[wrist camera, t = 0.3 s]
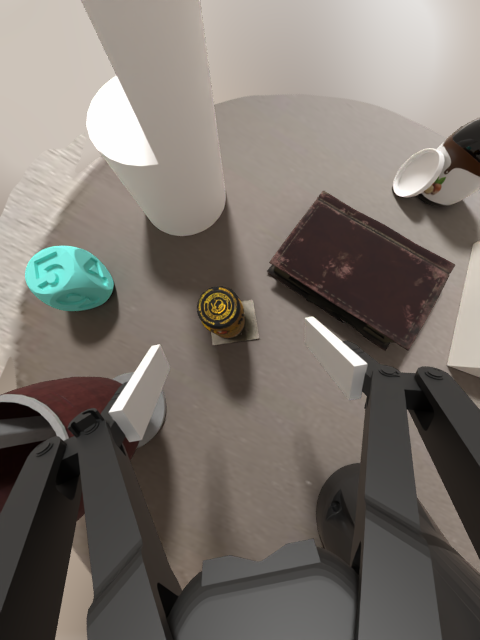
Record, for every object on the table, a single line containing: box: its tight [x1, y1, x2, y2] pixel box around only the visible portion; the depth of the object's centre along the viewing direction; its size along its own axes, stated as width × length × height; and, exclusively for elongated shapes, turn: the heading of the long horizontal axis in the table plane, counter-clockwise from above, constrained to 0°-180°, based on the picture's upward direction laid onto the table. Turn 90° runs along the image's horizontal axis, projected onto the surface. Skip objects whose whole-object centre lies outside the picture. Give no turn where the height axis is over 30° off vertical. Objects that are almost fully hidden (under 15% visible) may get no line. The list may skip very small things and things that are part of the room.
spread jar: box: [393, 118, 480, 206], centre depth 30 cm, size 12×11×12 cm
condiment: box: [197, 286, 259, 345], centre depth 27 cm, size 7×8×12 cm
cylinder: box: [81, 0, 226, 236], centre depth 23 cm, size 17×17×28 cm
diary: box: [267, 191, 455, 350], centre depth 31 cm, size 19×25×5 cm
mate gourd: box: [0, 372, 166, 521], centre depth 21 cm, size 16×14×20 cm
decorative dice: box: [25, 246, 114, 311], centre depth 31 cm, size 8×8×8 cm
